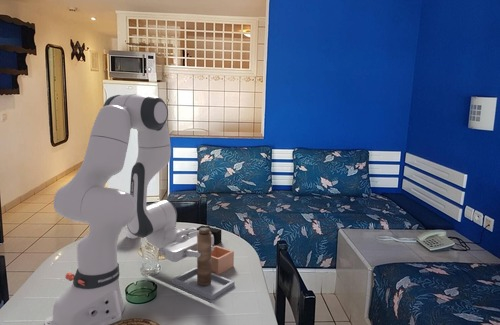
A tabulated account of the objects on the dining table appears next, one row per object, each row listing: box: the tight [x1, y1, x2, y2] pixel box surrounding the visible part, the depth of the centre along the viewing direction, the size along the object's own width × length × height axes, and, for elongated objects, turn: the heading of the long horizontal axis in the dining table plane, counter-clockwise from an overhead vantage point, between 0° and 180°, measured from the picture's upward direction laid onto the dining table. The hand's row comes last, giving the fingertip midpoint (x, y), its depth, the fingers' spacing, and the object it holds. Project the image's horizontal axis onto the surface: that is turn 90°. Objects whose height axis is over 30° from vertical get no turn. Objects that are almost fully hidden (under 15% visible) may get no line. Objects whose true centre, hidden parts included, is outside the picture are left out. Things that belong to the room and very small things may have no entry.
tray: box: [171, 266, 236, 303], centre depth 135 cm, size 12×18×2 cm, turn 54°
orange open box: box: [211, 245, 235, 276], centre depth 148 cm, size 9×9×7 cm
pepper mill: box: [196, 228, 212, 286], centre depth 134 cm, size 5×5×19 cm
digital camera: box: [196, 225, 222, 246], centre depth 173 cm, size 10×5×7 cm, turn 62°
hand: (206, 251), depth 133 cm, fingers closed on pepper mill, 5 cm apart
